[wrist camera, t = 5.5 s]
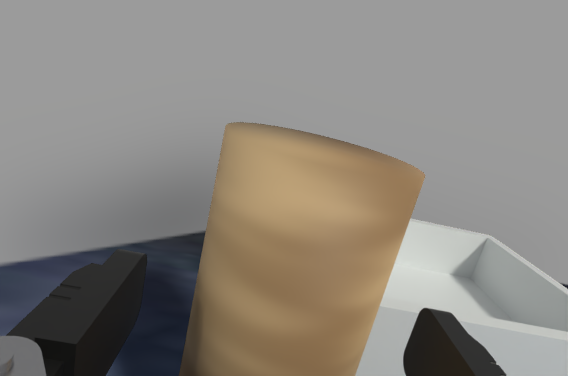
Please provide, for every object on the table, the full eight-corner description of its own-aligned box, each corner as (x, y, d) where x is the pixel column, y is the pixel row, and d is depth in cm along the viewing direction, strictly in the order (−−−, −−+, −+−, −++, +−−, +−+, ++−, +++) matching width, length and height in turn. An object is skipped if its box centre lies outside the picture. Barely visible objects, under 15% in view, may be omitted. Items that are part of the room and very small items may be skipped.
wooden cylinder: (132, 575, 10) (209, 139, 6) (178, 411, 14) (236, 116, 11) (312, 593, 10) (467, 197, 7) (299, 428, 15) (387, 150, 12)
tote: (289, 384, 17) (316, 294, 16) (281, 247, 31) (295, 194, 30) (619, 436, 19) (668, 359, 17) (469, 284, 33) (490, 235, 31)
